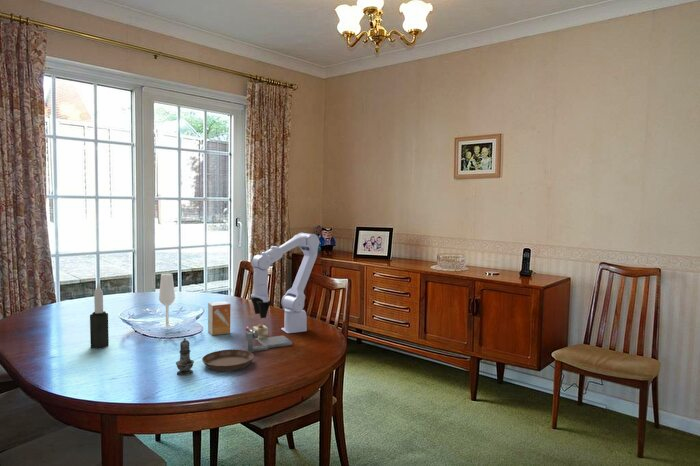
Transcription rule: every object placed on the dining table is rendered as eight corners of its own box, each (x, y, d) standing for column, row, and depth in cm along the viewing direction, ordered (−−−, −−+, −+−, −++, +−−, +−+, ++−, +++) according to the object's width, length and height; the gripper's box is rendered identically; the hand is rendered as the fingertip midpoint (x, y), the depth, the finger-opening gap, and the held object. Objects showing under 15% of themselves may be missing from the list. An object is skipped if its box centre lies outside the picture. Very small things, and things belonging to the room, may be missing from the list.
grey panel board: (283, 338, 203) (283, 321, 202) (293, 346, 193) (293, 328, 192) (239, 343, 194) (239, 326, 193) (248, 352, 184) (248, 334, 183)
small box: (212, 335, 204) (212, 305, 203) (207, 332, 209) (207, 302, 208) (230, 333, 208) (230, 303, 207) (225, 329, 214) (225, 300, 213)
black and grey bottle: (110, 345, 189) (108, 282, 187) (99, 349, 184) (98, 284, 182) (99, 343, 190) (98, 281, 188) (89, 347, 186) (87, 283, 183)
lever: (249, 331, 195) (249, 324, 195) (258, 339, 185) (258, 332, 185) (245, 332, 194) (245, 325, 194) (253, 339, 184) (253, 332, 184)
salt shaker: (178, 369, 165) (178, 335, 164) (196, 369, 165) (195, 335, 164) (173, 376, 159) (173, 340, 158) (191, 375, 159) (191, 340, 158)
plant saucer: (199, 359, 175) (199, 351, 175) (248, 354, 182) (248, 346, 182) (205, 377, 159) (205, 368, 159) (258, 370, 166) (258, 361, 166)
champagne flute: (155, 328, 213) (155, 274, 211) (166, 324, 219) (166, 272, 217) (167, 330, 210) (167, 276, 208) (178, 326, 217) (178, 273, 215)
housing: (264, 335, 206) (264, 322, 206) (267, 338, 202) (268, 325, 202) (252, 336, 204) (252, 324, 204) (256, 340, 200) (256, 327, 199)
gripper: (246, 281, 206) (246, 312, 207) (256, 287, 193) (256, 320, 194) (262, 280, 209) (262, 311, 210) (273, 286, 196) (273, 319, 197)
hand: (260, 315), depth 202 cm, fingers open, 7 cm apart
